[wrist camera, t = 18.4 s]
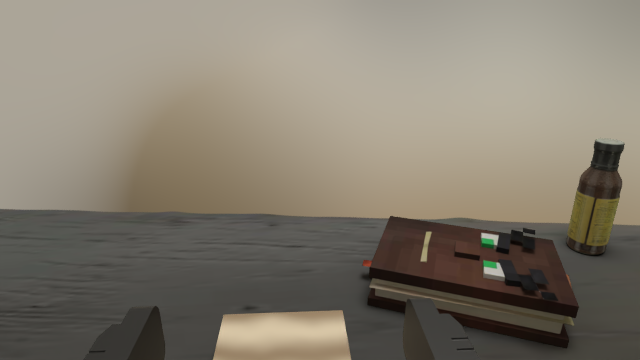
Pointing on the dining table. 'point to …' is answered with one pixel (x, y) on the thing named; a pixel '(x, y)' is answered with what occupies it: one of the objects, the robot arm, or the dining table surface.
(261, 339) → the oak slab
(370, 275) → the decorative book
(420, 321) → the robot arm
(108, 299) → the dining table surface
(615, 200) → the sauce bottle
